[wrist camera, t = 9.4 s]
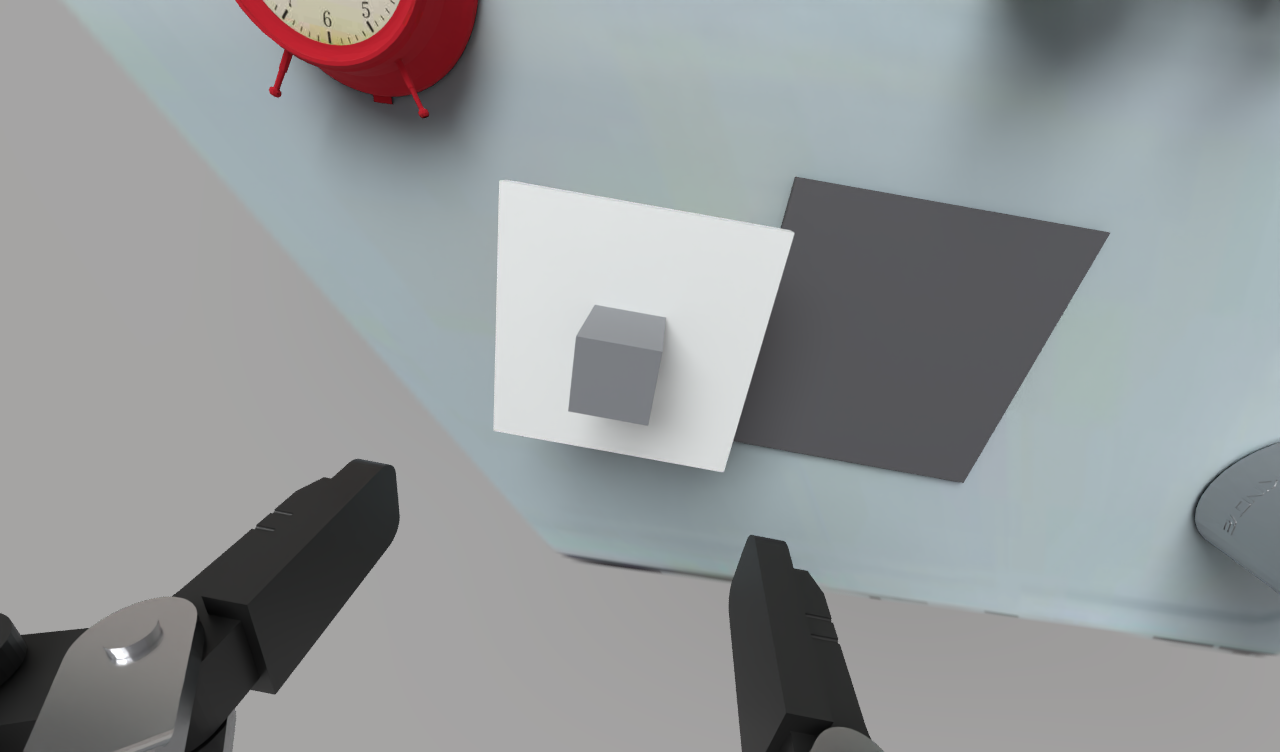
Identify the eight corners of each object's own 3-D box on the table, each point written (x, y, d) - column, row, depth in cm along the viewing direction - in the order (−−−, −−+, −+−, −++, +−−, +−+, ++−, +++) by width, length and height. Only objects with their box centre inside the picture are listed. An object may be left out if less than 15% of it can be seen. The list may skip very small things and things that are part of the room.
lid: (790, 230, 19) (822, 250, 15) (722, 463, 24) (731, 529, 20) (506, 179, 19) (455, 185, 15) (499, 422, 24) (459, 479, 20)
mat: (1103, 231, 24) (1110, 232, 23) (960, 479, 30) (963, 482, 30) (795, 176, 24) (796, 177, 23) (721, 435, 31) (722, 439, 30)
